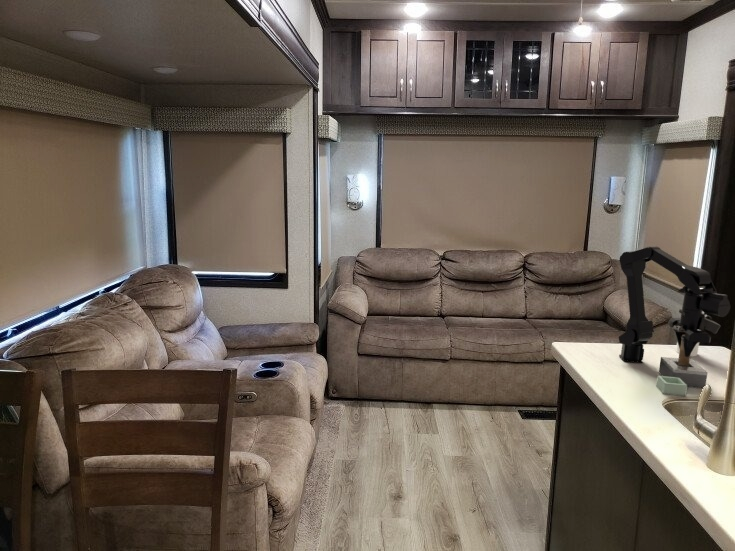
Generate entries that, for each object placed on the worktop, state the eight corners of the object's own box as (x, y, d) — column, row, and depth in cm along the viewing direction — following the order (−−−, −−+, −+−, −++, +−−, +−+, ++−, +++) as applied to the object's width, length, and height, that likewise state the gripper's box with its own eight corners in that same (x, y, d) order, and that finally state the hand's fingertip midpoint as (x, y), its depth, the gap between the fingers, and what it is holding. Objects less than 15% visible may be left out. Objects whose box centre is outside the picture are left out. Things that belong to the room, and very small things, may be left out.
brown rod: (679, 369, 184) (684, 337, 182) (675, 365, 187) (680, 334, 185) (689, 370, 183) (695, 337, 181) (685, 366, 186) (691, 334, 184)
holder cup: (663, 393, 174) (664, 383, 173) (656, 386, 180) (657, 375, 179) (685, 396, 173) (687, 385, 172) (677, 388, 179) (679, 377, 178)
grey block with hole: (671, 385, 181) (674, 369, 180) (658, 372, 192) (660, 356, 191) (704, 388, 179) (707, 372, 178) (689, 374, 191) (692, 359, 190)
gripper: (733, 318, 171) (724, 367, 174) (706, 303, 189) (699, 348, 192) (693, 315, 173) (685, 363, 176) (671, 301, 191) (664, 345, 194)
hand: (684, 354), depth 184 cm, fingers closed on brown rod, 3 cm apart
